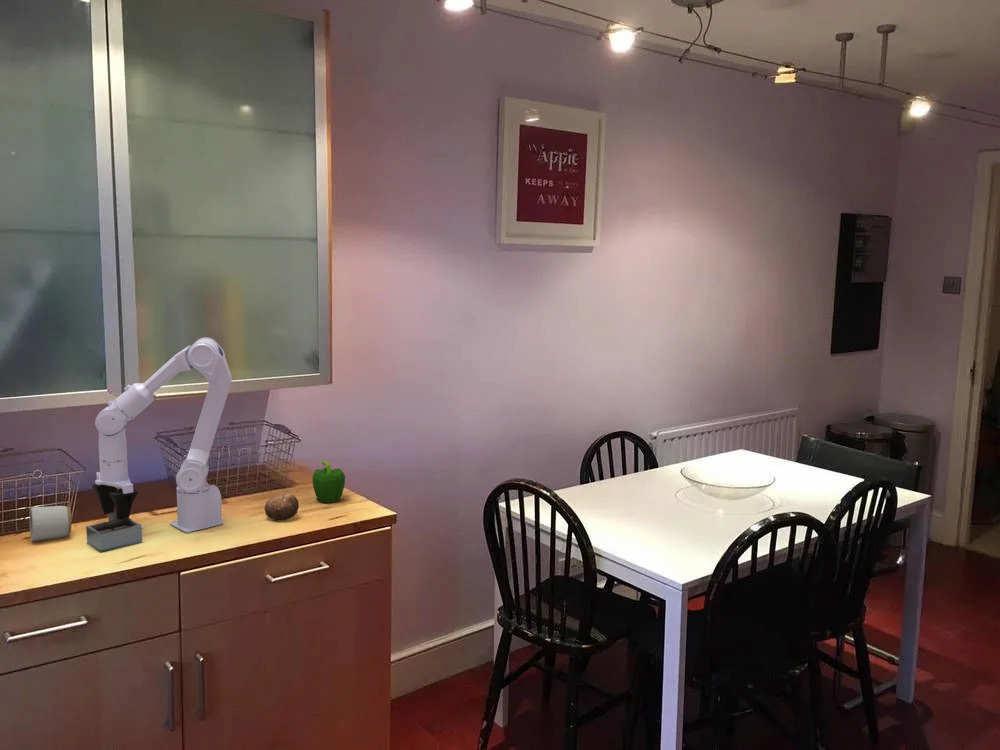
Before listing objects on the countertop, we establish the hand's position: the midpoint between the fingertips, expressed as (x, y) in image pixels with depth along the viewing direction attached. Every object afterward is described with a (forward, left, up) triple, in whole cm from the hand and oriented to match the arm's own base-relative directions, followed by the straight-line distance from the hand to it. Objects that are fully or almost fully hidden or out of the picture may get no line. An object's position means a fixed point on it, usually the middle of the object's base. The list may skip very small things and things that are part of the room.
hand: (115, 516), depth 191 cm
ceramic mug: (+13, -5, -3) cm, 14 cm away
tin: (+4, +8, -3) cm, 10 cm away
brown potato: (-32, +18, -3) cm, 37 cm away
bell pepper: (-49, +14, -3) cm, 51 cm away
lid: (0, 0, -4) cm, 4 cm away
